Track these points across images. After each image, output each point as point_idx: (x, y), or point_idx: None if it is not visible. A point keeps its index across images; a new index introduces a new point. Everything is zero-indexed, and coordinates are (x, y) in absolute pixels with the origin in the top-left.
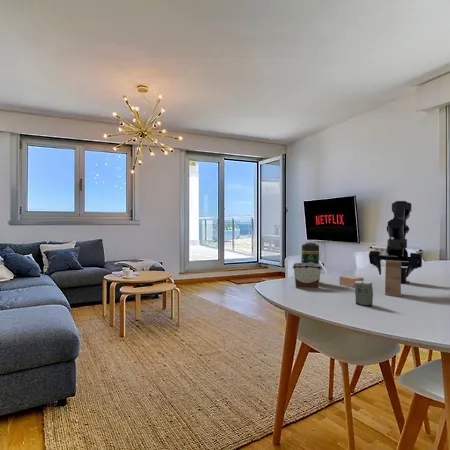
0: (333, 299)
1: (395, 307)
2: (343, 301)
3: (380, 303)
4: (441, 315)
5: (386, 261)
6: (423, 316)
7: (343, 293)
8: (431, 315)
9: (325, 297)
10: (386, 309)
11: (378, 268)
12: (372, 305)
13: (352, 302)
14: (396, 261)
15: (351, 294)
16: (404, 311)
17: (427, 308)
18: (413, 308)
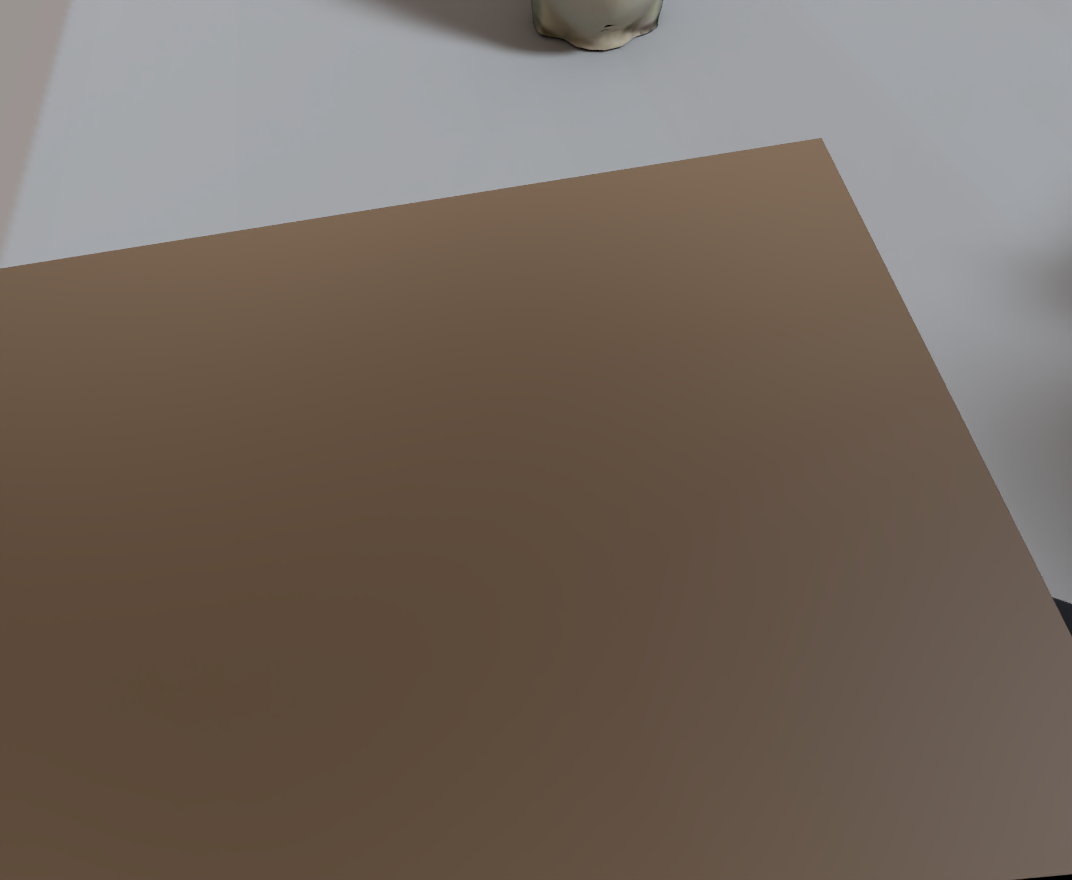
0: (868, 21)
1: (381, 95)
2: (770, 17)
3: (515, 134)
4: (69, 95)
5: (772, 159)
6: (189, 10)
7: (1001, 278)
8: (137, 57)
9: (963, 34)
10: (425, 14)
11: (1061, 601)
12: (533, 17)
13: (702, 31)
14: (192, 579)
15: (909, 290)
16: (308, 40)
17: (143, 220)
18: (252, 150)
